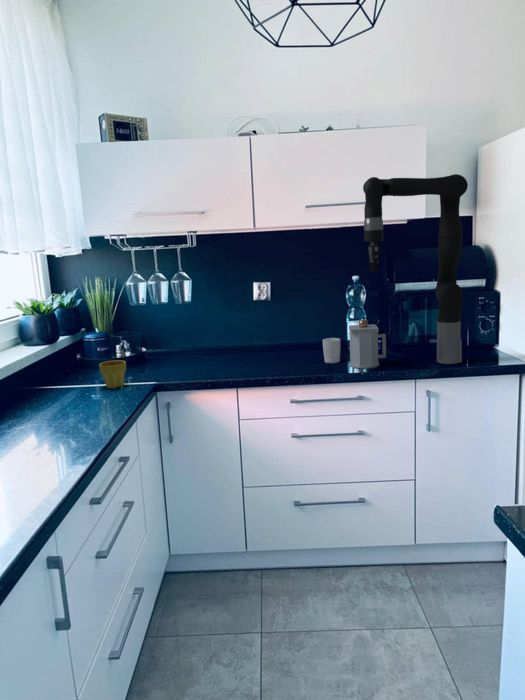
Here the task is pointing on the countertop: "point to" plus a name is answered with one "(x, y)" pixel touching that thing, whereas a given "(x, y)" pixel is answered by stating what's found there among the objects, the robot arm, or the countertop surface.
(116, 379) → the plant pot
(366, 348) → the press
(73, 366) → the countertop surface
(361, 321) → the plunger
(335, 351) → the white cup
